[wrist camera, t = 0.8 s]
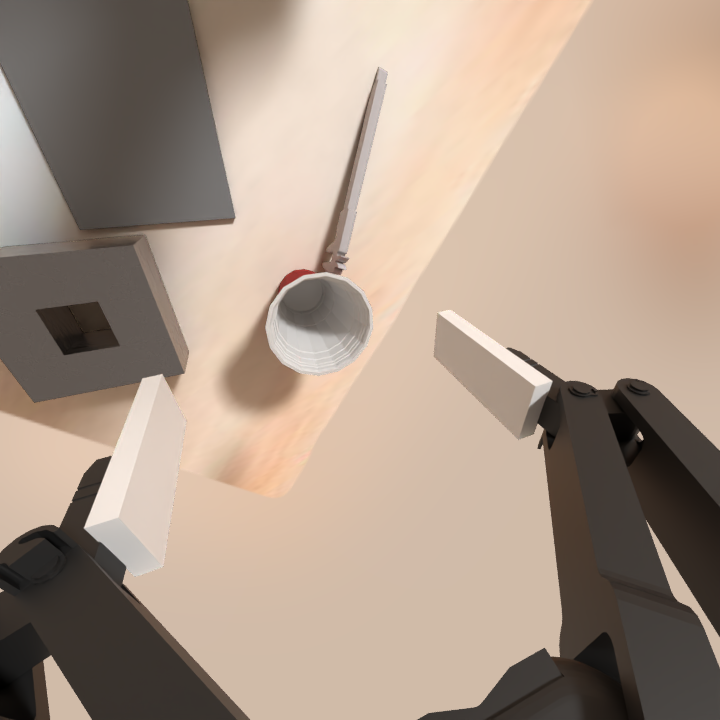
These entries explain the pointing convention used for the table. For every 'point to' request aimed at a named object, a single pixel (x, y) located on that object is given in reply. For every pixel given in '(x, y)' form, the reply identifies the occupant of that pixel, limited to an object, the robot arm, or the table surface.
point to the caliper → (356, 178)
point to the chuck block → (61, 331)
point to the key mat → (118, 108)
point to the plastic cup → (318, 322)
